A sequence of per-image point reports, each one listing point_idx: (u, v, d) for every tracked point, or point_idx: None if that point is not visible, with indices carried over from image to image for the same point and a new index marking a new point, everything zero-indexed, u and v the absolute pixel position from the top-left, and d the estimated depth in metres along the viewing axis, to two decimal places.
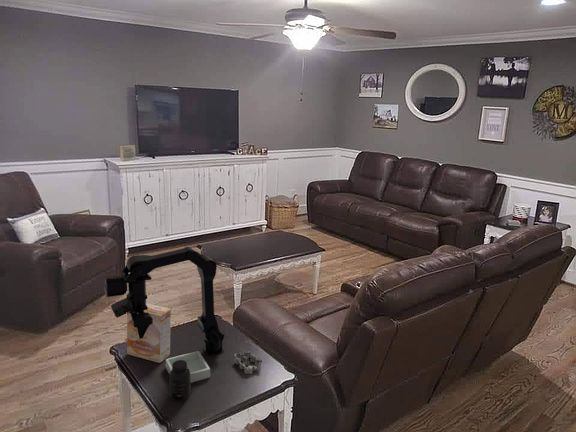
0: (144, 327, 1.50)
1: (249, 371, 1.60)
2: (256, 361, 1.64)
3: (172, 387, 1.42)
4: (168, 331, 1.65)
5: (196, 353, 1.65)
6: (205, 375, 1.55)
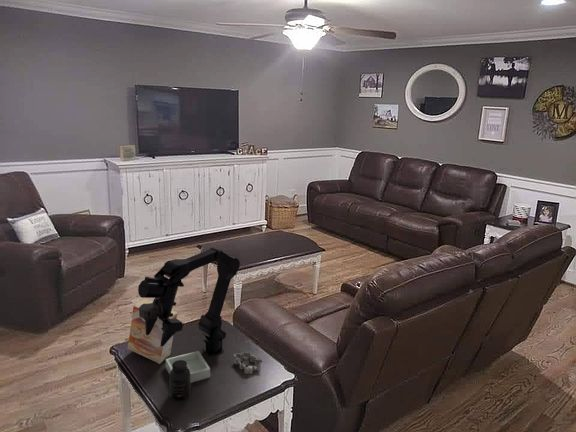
0: (170, 334, 1.48)
1: (249, 371, 1.60)
2: (256, 361, 1.64)
3: (172, 387, 1.42)
4: None
5: (196, 353, 1.65)
6: (205, 375, 1.55)
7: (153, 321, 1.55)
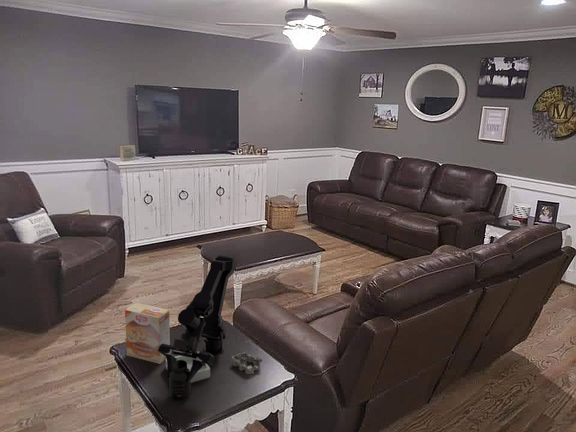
0: (196, 369, 1.45)
1: (251, 371, 1.59)
2: (255, 361, 1.64)
3: (172, 387, 1.42)
4: (168, 332, 1.65)
5: None
6: (205, 375, 1.55)
7: None
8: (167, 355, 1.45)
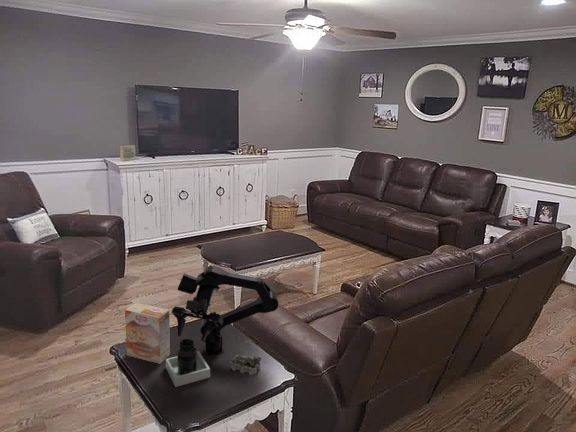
0: (210, 329, 1.59)
1: (255, 371, 1.60)
2: (253, 360, 1.64)
3: (180, 363, 1.54)
4: (168, 332, 1.65)
5: None
6: (205, 375, 1.55)
7: (183, 324, 1.62)
8: (177, 315, 1.60)
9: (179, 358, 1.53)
